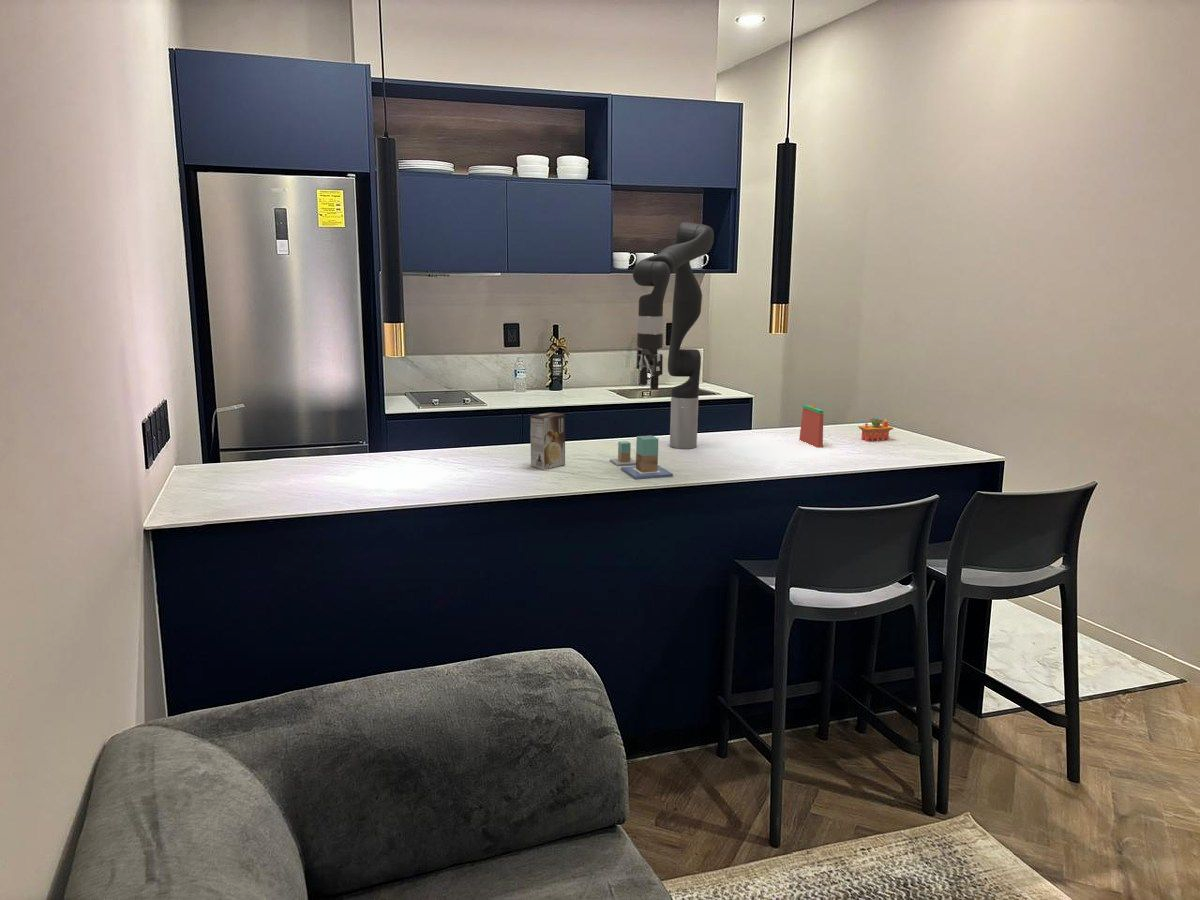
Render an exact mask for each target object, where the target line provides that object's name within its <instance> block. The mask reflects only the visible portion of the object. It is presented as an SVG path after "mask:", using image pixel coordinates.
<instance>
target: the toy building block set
mask: <svg viewBox="0 0 1200 900" xmlns="http://www.w3.org/2000/svg"><path fill="white" fill-rule="evenodd" d="M802 406H803V407H802V413H801V422H800V428H799V429H800V431H799V440H798V441H800V440H801V441H800V442H802V441H803V442H802V443H805V442H806V444H807V443H808V445H810V446H812V445H813V446H812V447H815V448H818V449H820V448H822V449H823V447H824V411H825V410H824V409H821V408H818V407H816V406H815V404H812V405H808V404H803V405H802ZM868 420H869V422H871V425H869V423H868V422H865V423H864V425H858V426H857V428H858V429H860V430H861V437H860V439H861V441H864V442H869V441H870V442H874V441H875V442H879V441H881V442H884V441H889V438H890V437H889V435H890V431H892V430H894V427H893V426H890V425H889V424H890V423H888V419H882V418H881V419H880V418H870V419H869V418H868ZM881 423H882V424H881Z"/></svg>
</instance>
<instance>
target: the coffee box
mask: <svg viewBox="0 0 1200 900" xmlns="http://www.w3.org/2000/svg"><path fill="white" fill-rule="evenodd" d="M565 415H566V414H565V413H558V412H554V411H552V412H551V411H549V412H543V413H539V414H533V415H530V416H529V418H530V420H529V421H530V422H529V424H530V429H529V431H530V434H529V435H530V467H532V466H534V467H533V468H535V467H538V468H537V469H540V468H542V469H541V470H544V469H545V470H548V469H547V468H549V469H553V468H557V467H561V466H565V465H566V428H565V427H566V417H565ZM552 467H553V468H552Z"/></svg>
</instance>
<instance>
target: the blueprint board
mask: <svg viewBox="0 0 1200 900" xmlns="http://www.w3.org/2000/svg"><path fill="white" fill-rule="evenodd" d="M620 470H621V471H622V472H624V473H625V474H626V475H628V476H630V477H631V478H633V479H634V480H645V479H657V478H670V477H674V473H673V472H671V471H669V470H667V469H665V468H664V467H662V466H661V465H659V464H658V471H657V472H644V473H642V472H640V471H639V470H637V469H636V465H629V466H620Z"/></svg>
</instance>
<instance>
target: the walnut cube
mask: <svg viewBox="0 0 1200 900" xmlns="http://www.w3.org/2000/svg"><path fill="white" fill-rule="evenodd" d="M635 461H636V465H635V466H636V469H637V470H639V471H640V472H642V473H644V472H657V471H658V465H659V462H658V461H659V454H658V455H653V456H641V455H640V454H638V453H636V452H635Z"/></svg>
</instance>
